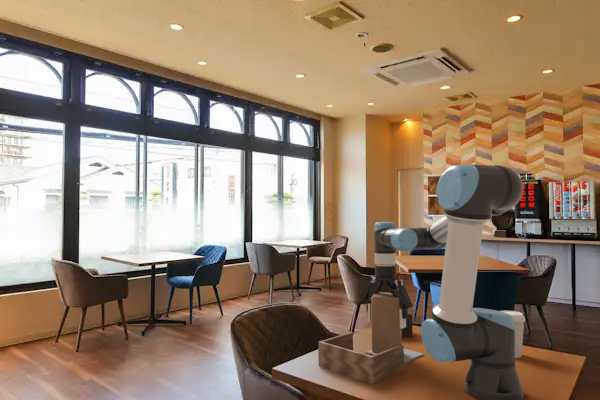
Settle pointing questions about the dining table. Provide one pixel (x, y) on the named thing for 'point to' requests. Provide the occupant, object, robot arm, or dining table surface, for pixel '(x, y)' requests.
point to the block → (385, 322)
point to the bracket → (359, 359)
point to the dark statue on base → (407, 326)
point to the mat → (408, 355)
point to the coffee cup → (517, 331)
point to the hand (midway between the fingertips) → (386, 324)
